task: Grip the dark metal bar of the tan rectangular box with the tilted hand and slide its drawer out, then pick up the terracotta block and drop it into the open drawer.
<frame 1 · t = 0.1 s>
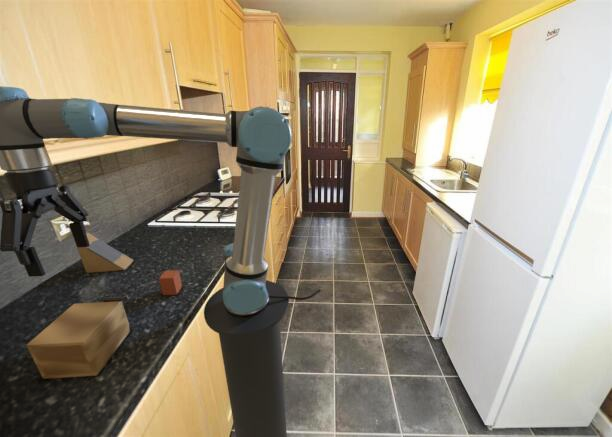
hand: (62, 259, 63), 28 cm above the worktop, tool pointing down, fingers open, 13 cm apart
tan rectangular box: (90, 352, 73), on the worktop
sandwich container: (111, 266, 115), on the worktop
block: (172, 290, 98), on the worktop
drawer: (96, 324, 75), point 5 cm above the worktop, slide at 0.0 cm, touching tan rectangular box
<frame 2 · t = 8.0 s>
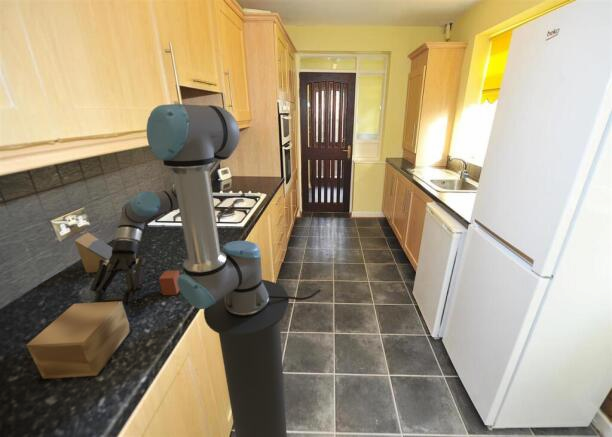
hand: (110, 314, 81), 4 cm above the worktop, tool tilted 45°, fingers closed on drawer, 7 cm apart
drawer: (96, 324, 75), point 5 cm above the worktop, slide at 0.0 cm, touching gripper
everything else where it was.
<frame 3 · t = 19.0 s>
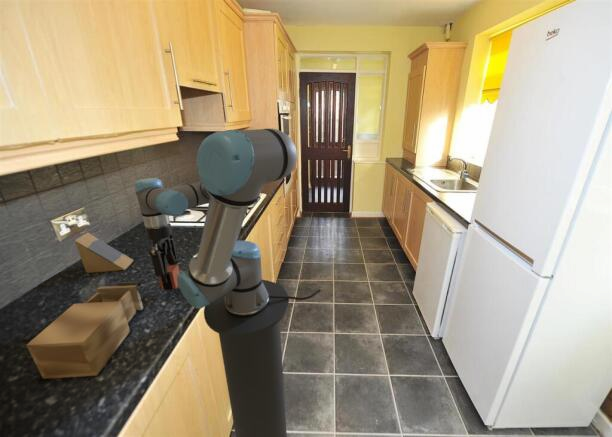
hand: (171, 284, 97), 3 cm above the worktop, tool pointing down, fingers closed on block, 5 cm apart
block: (171, 285, 97), point 3 cm above the worktop, touching gripper
drawer: (114, 305, 83), point 5 cm above the worktop, slide at 8.1 cm
everything else where it was.
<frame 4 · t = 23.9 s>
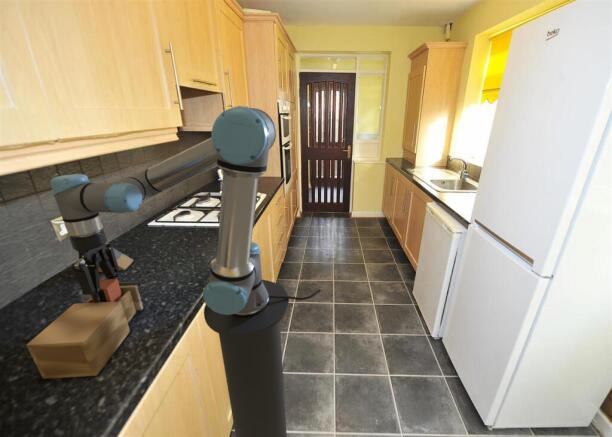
hand: (109, 302, 81), 7 cm above the worktop, tool pointing down, fingers closed on block, 5 cm apart
block: (109, 303, 81), point 7 cm above the worktop, touching gripper
everything else where it was.
when the fingers open (10 cm above the worktop, at t = 34.7 s): block drops 8 cm, resting on drawer.
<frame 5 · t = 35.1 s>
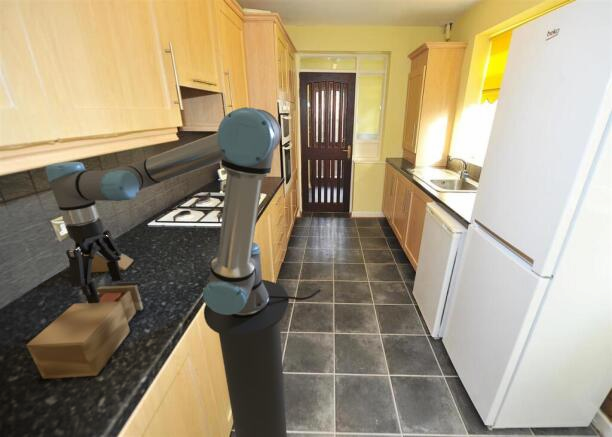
hand: (106, 290, 79), 12 cm above the worktop, tool pointing down, fingers open, 10 cm apart
block: (114, 316, 83), point 2 cm above the worktop, touching drawer
drawer: (114, 305, 83), point 5 cm above the worktop, slide at 8.1 cm, touching block
everything else where it was.
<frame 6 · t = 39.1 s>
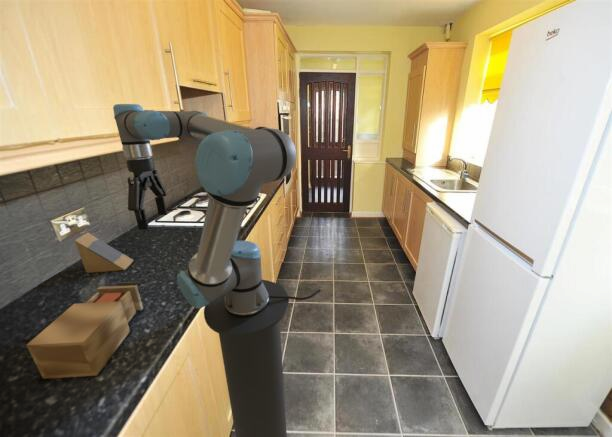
hand: (154, 221, 91), 27 cm above the worktop, tool pointing down, fingers open, 13 cm apart
nothing on the worktop moved.
at the end: drawer slide at 8.1 cm; block inside the target area in the tan rectangular box (7.3 cm from its centre), point 2.1 cm above the tan rectangular box's base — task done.
